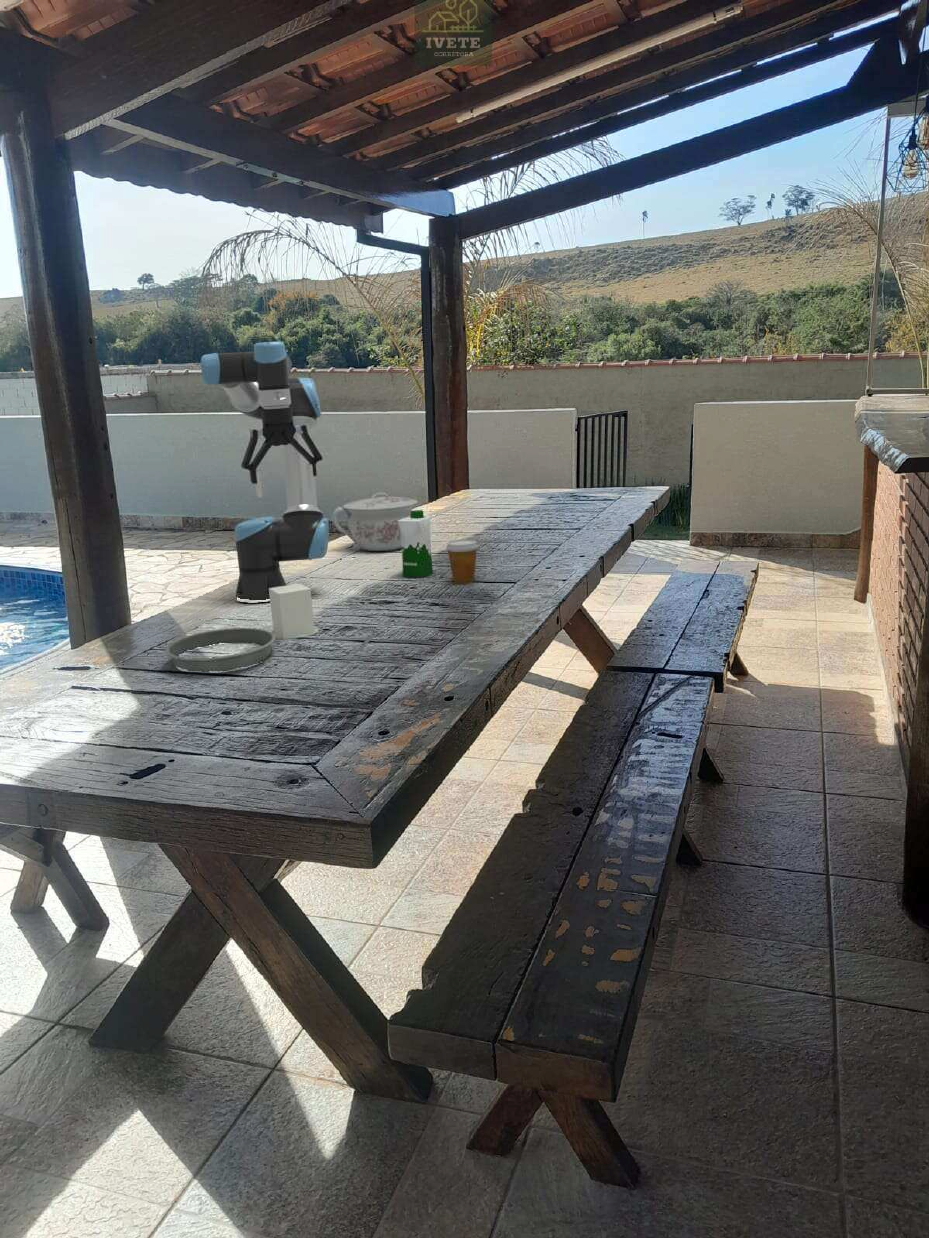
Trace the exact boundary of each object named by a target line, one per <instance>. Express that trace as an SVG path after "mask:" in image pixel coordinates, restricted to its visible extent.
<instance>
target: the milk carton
mask: <svg viewBox="0 0 929 1238" xmlns="http://www.w3.org/2000/svg"><path fill="white" fill-rule="evenodd" d="M431 519H432V518H431V516H424V510H422V509H420V510H419V509H414V510H412V511H411V517H407V518H403V519H401V520H398V525H399V529H400V533H401V546H402V548H401V557H402V559H401V560H402V577H403V578H418V579H419V578H420V579H423V578H424V577H427V576H428V575H432V574H433V573H434V571H433V559H432V558H433V557H432V541H431Z"/></svg>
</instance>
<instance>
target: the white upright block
mask: <svg viewBox="0 0 929 1238" xmlns="http://www.w3.org/2000/svg"><path fill="white" fill-rule="evenodd" d="M286 585H287V586H281V587H274V588H269V595H270V602H269V603H270V604H269V605H270V611H271V612H270V613H271V621H272V631H274V632H276V633H277V634H279V635H280V636H282V637H283V638H282V639H284V638H286V637H292V636H297V635H302V634H308V633H313V632H315V628H314V626H315V620H314V618H315V617H314V612H313V611H314V610H313V609H314V608H313V602H312V601H313V599H312V591H311V588H310V587H307V586H306V585H303V584H302V583H300V582H299V583H294V584H286Z"/></svg>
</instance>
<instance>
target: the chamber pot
mask: <svg viewBox="0 0 929 1238" xmlns="http://www.w3.org/2000/svg"><path fill="white" fill-rule="evenodd" d="M418 502H419V501H418V500H417V499H413V498H409V497H402V496H388V494H387V493H385V492H376V493H374V494H373V495H371V497H369V498H363V499H357V500H353V501H350V502H348V503H345V504H344V505H343V506H337V508H335V509H334V511H333V513H332V523H333V525H334V526H335V528H336V529H337V530H338V532H341V533H342V534H344V535H346V537H348V538H350V540H351V541H352V542H353V543H355V544H356V545H357V546H358V547H359V548H360V549H362V550H364V551H367V552H371V551H385V552H392V551H397V550H400V549H402V546H401V533H400V529H399V525H398V520H401V519H403V518H407V517H411V511H413V510H412V508H413V506H415V505H417V504H418ZM340 513H344V514H345V515H346V521H347V524H348V525H347V526H348V529H349V531H348V530H346V529H344V528H342V526H341V525H340V524H339V522H338V517H337V516H338V514H340Z"/></svg>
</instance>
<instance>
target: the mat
mask: <svg viewBox="0 0 929 1238" xmlns="http://www.w3.org/2000/svg"><path fill="white" fill-rule="evenodd" d="M373 637H374V634H369V635H368V636H367V637H366V638H365V640H364V641H363V642H362V644H361V645H360V646H359V647H358V648H357V651H358V650H359V651H361V650H364V648H365V647H366V646H367V645H368V643H369V642H370V641H371V639H372V638H373Z"/></svg>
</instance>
